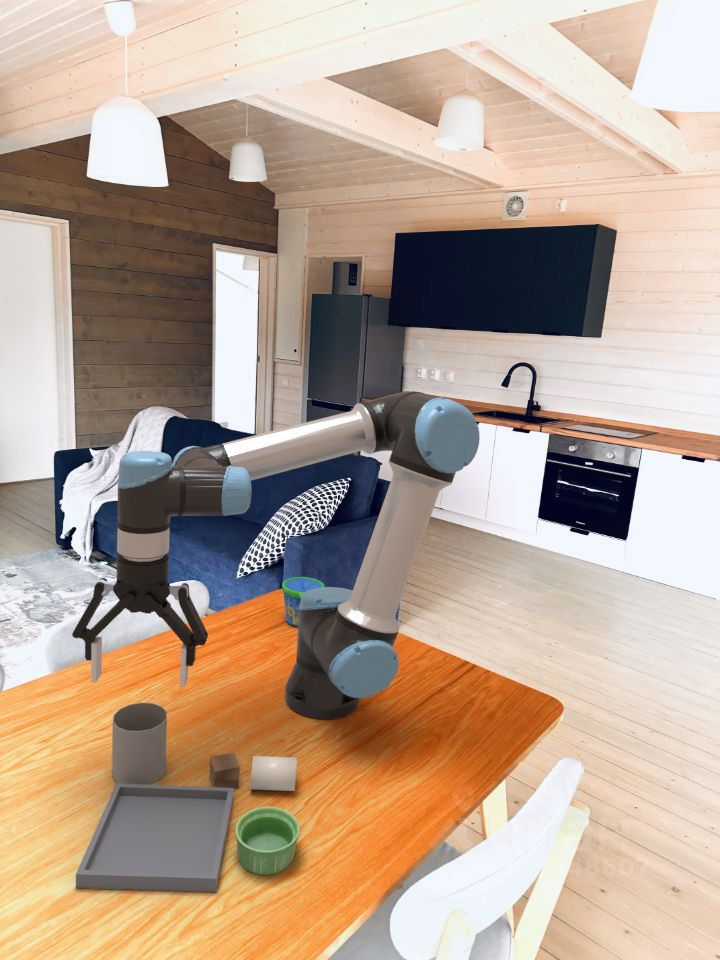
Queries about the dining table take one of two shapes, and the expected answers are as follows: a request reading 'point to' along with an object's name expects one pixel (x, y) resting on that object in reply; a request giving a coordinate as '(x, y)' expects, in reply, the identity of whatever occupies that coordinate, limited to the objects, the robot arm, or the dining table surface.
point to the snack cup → (296, 595)
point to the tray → (158, 839)
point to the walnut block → (224, 771)
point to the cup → (139, 744)
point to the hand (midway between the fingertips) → (140, 680)
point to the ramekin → (266, 840)
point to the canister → (273, 773)
